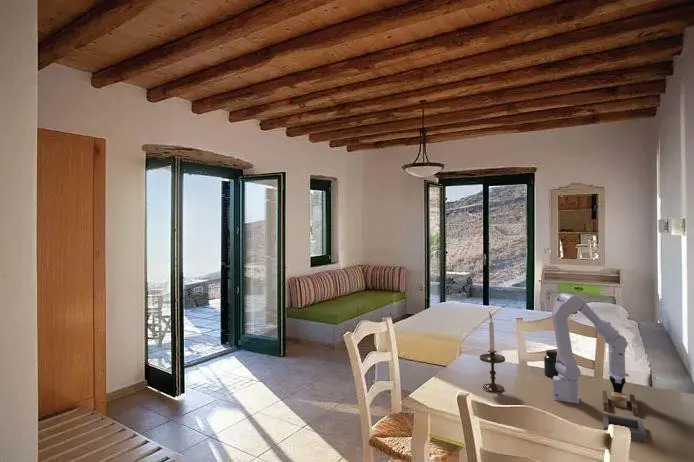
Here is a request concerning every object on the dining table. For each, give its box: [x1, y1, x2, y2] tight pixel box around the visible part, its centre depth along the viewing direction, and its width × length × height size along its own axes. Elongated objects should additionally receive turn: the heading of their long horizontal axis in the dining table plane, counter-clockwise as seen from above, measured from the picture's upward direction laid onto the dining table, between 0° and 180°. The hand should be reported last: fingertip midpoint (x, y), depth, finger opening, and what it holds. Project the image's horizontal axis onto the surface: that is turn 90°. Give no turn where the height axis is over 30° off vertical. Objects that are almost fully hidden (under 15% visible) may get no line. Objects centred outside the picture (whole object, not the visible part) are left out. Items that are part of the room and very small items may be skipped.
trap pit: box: [602, 413, 648, 443], centre depth 147 cm, size 12×12×2 cm
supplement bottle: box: [543, 349, 558, 378], centre depth 203 cm, size 7×7×12 cm
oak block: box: [611, 391, 628, 408], centre depth 168 cm, size 5×5×4 cm
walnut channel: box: [602, 390, 639, 417], centre depth 167 cm, size 11×14×3 cm
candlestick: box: [479, 311, 506, 393], centre depth 188 cm, size 11×11×35 cm
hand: (617, 395), depth 174 cm, fingers closed
